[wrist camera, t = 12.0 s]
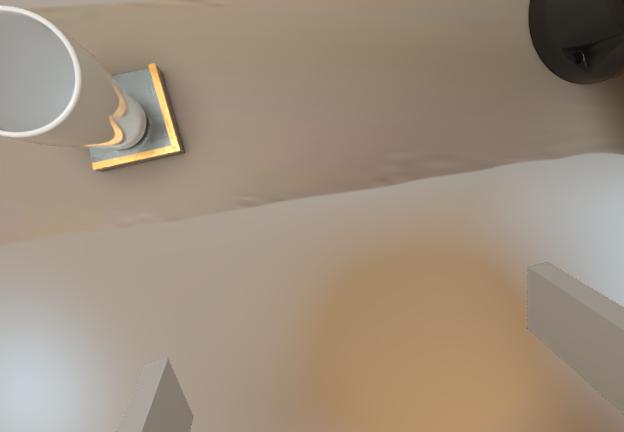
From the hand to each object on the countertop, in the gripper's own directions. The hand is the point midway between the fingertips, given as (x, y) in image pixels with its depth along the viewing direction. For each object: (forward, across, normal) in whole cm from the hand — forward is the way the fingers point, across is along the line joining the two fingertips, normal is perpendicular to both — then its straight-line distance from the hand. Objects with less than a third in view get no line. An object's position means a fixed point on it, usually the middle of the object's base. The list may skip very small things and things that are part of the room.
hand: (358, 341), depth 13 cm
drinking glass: (+26, -15, +9) cm, 31 cm away
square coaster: (+27, -14, +9) cm, 32 cm away
